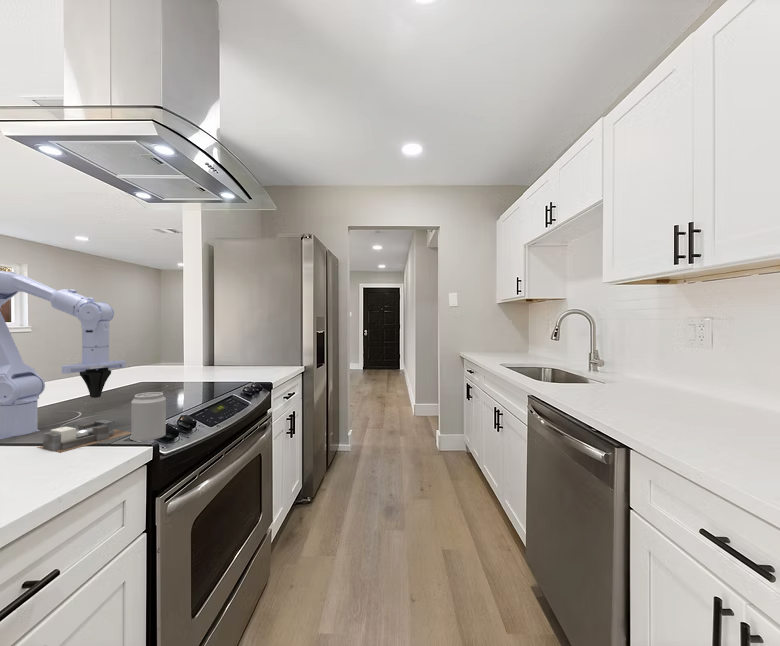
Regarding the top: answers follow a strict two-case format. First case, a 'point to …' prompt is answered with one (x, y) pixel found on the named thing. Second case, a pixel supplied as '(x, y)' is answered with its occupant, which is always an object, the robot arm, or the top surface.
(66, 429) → the spacer
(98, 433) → the bearing bench
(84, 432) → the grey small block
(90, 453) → the top surface
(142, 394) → the can
